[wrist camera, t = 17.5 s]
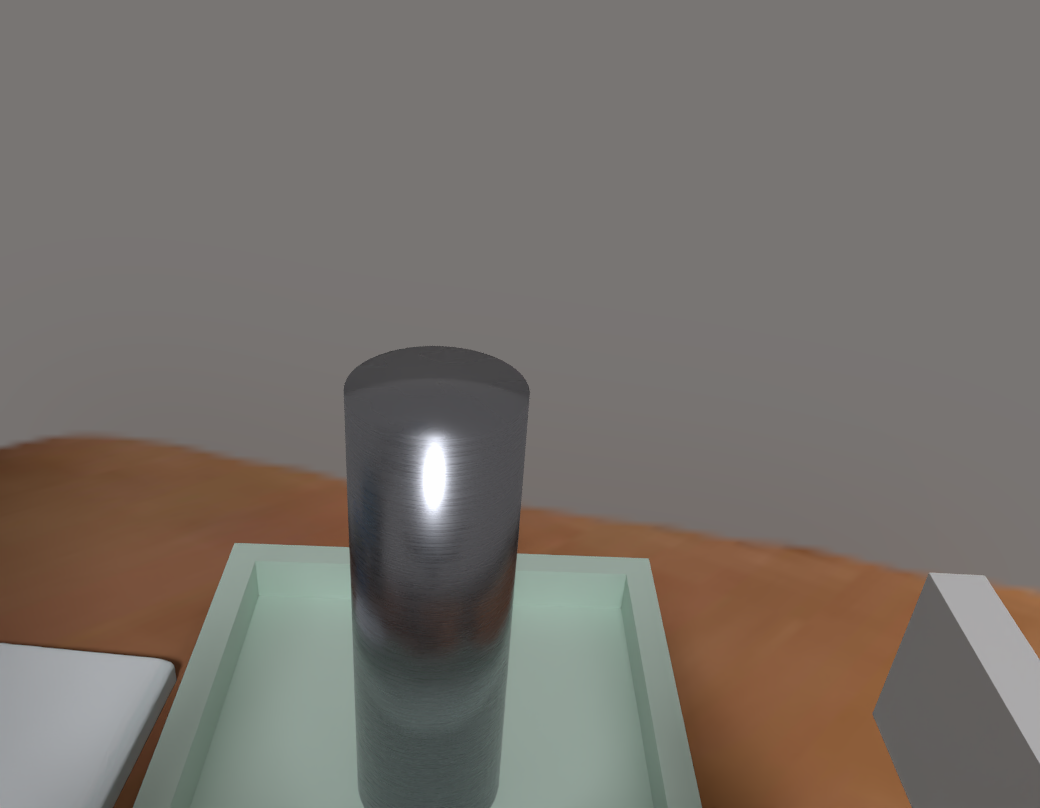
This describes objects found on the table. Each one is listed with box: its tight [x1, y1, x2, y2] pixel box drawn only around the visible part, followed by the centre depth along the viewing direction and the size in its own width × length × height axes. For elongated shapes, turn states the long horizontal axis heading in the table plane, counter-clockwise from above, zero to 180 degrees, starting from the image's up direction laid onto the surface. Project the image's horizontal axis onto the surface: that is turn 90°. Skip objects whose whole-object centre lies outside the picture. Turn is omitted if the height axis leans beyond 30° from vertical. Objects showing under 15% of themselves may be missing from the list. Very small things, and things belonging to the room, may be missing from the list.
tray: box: [133, 543, 702, 808], centre depth 29 cm, size 16×18×2 cm
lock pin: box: [344, 346, 530, 808], centre depth 26 cm, size 4×4×14 cm
